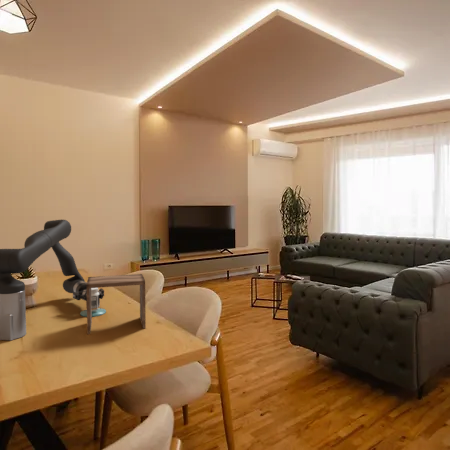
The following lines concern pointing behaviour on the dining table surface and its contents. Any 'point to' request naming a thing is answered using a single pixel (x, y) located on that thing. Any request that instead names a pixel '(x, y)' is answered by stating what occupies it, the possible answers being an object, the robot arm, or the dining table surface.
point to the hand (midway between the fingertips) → (94, 297)
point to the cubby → (112, 282)
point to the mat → (94, 312)
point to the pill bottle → (94, 299)
